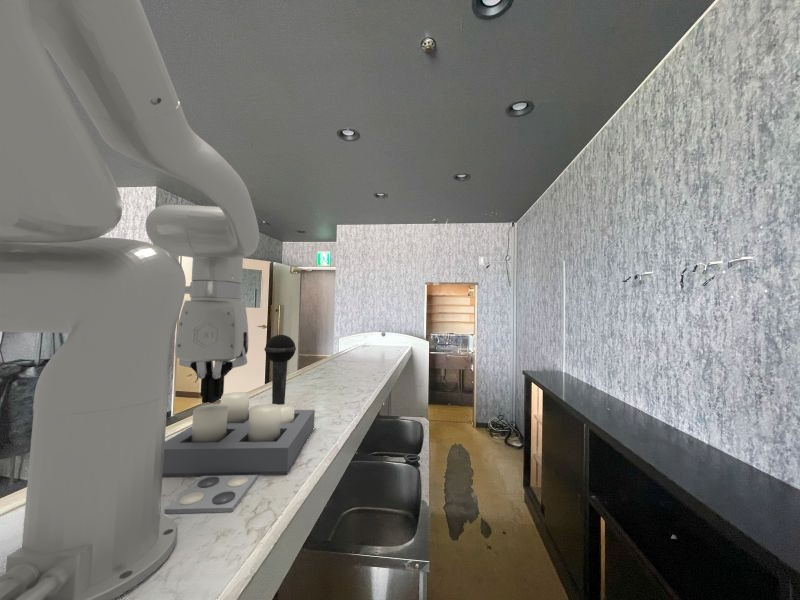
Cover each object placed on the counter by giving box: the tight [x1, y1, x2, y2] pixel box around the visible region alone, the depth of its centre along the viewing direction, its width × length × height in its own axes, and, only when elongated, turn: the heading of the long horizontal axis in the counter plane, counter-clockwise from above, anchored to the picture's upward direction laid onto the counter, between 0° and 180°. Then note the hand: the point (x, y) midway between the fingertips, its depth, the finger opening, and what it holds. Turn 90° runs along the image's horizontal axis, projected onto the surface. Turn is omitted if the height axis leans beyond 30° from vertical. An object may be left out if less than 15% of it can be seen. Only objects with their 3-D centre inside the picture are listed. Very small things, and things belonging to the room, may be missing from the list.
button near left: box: [191, 403, 228, 443], centre depth 52 cm, size 5×5×5 cm
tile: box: [163, 475, 259, 515], centre depth 42 cm, size 8×8×1 cm
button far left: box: [220, 391, 250, 423], centre depth 61 cm, size 5×5×5 cm
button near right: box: [248, 403, 281, 442], centre depth 53 cm, size 5×5×5 cm
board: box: [163, 409, 315, 478], centre depth 57 cm, size 20×20×4 cm
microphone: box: [264, 334, 297, 405], centre depth 71 cm, size 7×7×20 cm
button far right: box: [280, 403, 296, 423], centre depth 62 cm, size 5×5×5 cm
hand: (211, 400), depth 53 cm, fingers closed
